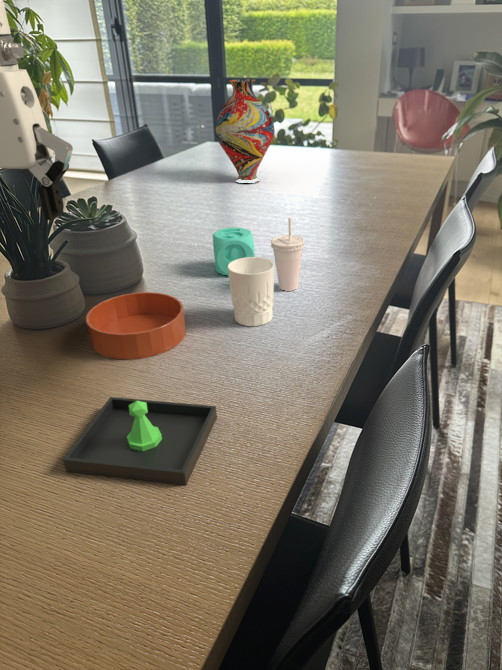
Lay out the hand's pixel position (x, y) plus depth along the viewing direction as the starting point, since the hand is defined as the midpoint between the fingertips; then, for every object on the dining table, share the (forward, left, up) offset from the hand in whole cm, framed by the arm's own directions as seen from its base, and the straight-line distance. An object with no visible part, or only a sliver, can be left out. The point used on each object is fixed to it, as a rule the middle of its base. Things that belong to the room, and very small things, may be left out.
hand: (19, 214), depth 68 cm
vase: (-1, +124, -25) cm, 126 cm away
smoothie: (+27, +39, -25) cm, 54 cm away
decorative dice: (+14, +47, -25) cm, 55 cm away
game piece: (+17, -11, -25) cm, 32 cm away
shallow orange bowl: (+5, +16, -25) cm, 30 cm away
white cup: (+23, +25, -25) cm, 42 cm away
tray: (+17, -11, -25) cm, 32 cm away
